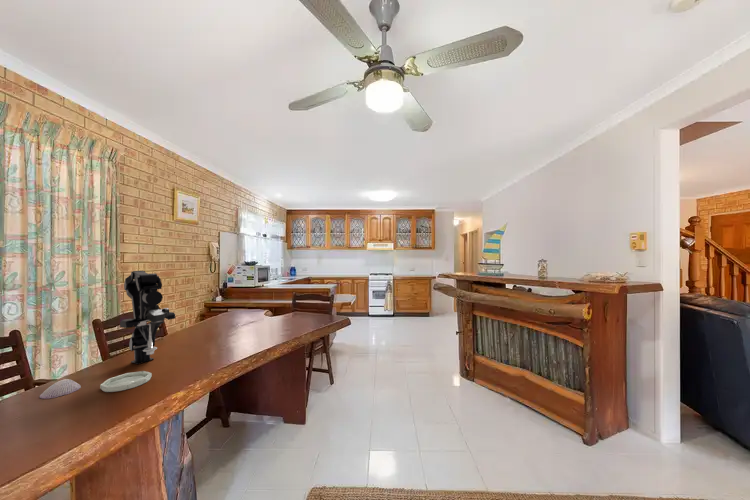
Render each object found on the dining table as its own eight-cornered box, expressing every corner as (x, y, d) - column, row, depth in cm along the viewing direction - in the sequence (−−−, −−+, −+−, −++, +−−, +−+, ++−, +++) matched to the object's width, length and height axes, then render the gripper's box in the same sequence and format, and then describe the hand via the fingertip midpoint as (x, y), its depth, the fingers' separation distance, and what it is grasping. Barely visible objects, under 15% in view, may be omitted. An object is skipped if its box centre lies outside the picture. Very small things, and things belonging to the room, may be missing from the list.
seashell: (85, 375, 117) (75, 378, 109) (84, 390, 116) (74, 395, 108) (48, 381, 113) (35, 384, 104) (47, 397, 111) (33, 402, 103)
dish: (94, 387, 112) (93, 383, 112) (138, 373, 125) (138, 369, 125) (113, 394, 106) (113, 390, 106) (158, 378, 119) (158, 374, 119)
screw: (157, 351, 133) (156, 354, 129) (143, 353, 131) (142, 356, 127) (156, 321, 133) (155, 323, 129) (142, 323, 131) (141, 325, 127)
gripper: (132, 308, 118) (134, 348, 118) (182, 300, 135) (183, 335, 135) (118, 306, 123) (119, 345, 123) (167, 299, 140) (168, 333, 140)
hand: (149, 339), depth 130 cm, fingers closed on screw, 2 cm apart
